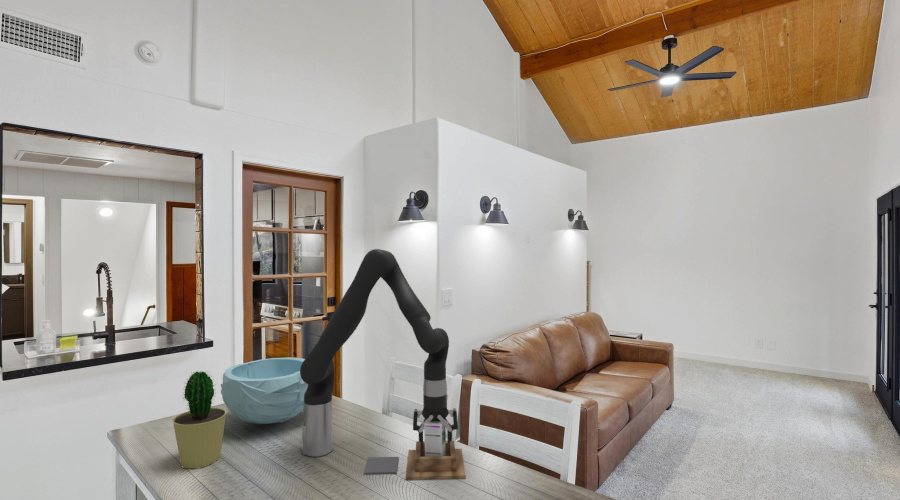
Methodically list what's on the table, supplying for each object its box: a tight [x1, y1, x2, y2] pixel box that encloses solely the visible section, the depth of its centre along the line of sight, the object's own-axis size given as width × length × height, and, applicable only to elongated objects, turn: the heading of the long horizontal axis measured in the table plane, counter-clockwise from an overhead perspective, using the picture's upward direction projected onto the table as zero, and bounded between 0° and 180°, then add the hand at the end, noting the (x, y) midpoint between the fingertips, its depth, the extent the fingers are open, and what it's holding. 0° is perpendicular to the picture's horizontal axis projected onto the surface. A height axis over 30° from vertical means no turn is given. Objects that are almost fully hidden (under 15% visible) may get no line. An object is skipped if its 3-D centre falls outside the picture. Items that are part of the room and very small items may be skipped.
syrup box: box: [423, 421, 447, 457], centre depth 145 cm, size 6×6×14 cm
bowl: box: [220, 356, 308, 425], centre depth 181 cm, size 35×35×22 cm
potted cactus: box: [172, 370, 228, 469], centre depth 149 cm, size 15×15×30 cm
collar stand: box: [405, 440, 467, 481], centre depth 145 cm, size 18×18×5 cm
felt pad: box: [363, 456, 400, 475], centre depth 145 cm, size 10×10×1 cm
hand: (435, 442), depth 145 cm, fingers open, 8 cm apart
